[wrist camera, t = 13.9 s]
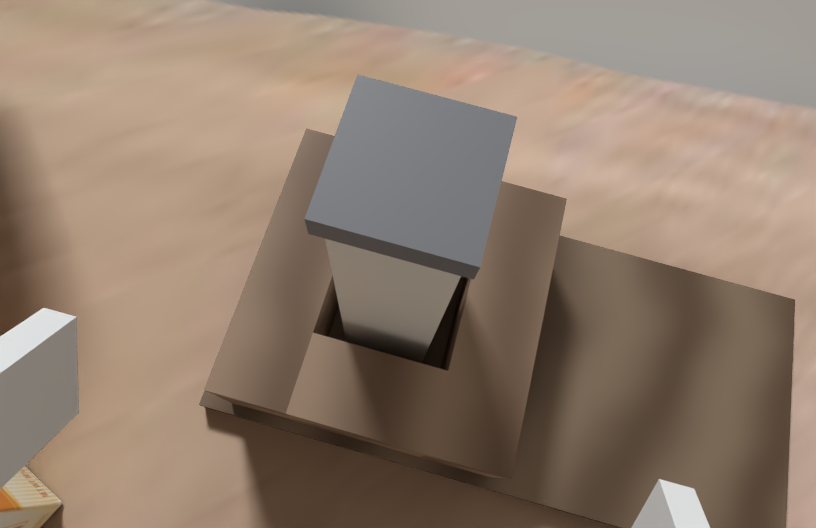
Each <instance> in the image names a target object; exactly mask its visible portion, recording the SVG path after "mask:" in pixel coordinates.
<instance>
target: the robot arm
mask: <svg viewBox="0 0 816 528" xmlns="http://www.w3.org/2000/svg"><path fill="white" fill-rule="evenodd" d="M78 413H79V396H78V356H77V317H76V316H72V315H68V314H65V313H61V312H58V311H54V310H50V309H47V308H42V309H41V310H39V311H38V312H36V313H35V314H33V315H32V316H30V317H29V318H27V319H26V320H24V321H23V322H21V323H20V324H18V325H17V326H15V327H14V328H12V329H11V330H9V331H8V332H6V333H5V334H3V335H2V336H0V489H1V488H2V487H3V486H4V485H5V484H6V483H7V482H8V481H9V480H10V479H11V478H12V477H13V476H15V475H16V474H17V473H18V472H19V471H20V470H21V469H22V468H23V467H24V466H25V465H26V464H27V463H28V462H29V461H30V460H31V459H32V458H33V457H34V456H35V455H36V454H37V453H38V452H39V451H40V450H41V449H42V448H43V447H44V446H45V445H46V444H47V443H48V442H49V441H50V440H51V439H52V438H53V437H55V436H56V435H57V434H58V433H59V432H60V431H61V430H62V429H63V428H64V427H65V426H66V425H67V424H68V423H69V422H70V421H71V420H72V419H73V418H74V417H75V416H76V415H77V414H78ZM631 528H710V526H709V524H708V521H707V519H706V516H705V514H704V511H703V509H702V507H701V504H700V502H699V499H698V497H697V494H696V492H695V489H693V488H690V487H686V486H683V485H679V484H676V483H672V482H668V481H665V480H661V479H659V480H658V482H657V483H656V485H655V487H654V489H653V490H652V492H651V494H650V496H649V497H648V499H647V501H646V503H645V505H644V506H643V508H642V510H641V512H640V513H639V515H638V517H637V519H636V520H635V522H634V524H633V526H632V527H631Z"/></svg>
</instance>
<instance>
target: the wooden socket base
mask: <svg viewBox="0 0 816 528" xmlns="http://www.w3.org/2000/svg"><path fill="white" fill-rule="evenodd" d="M334 137H335V136H332V135H328V134H325V133H321V132H317V131H313V130H310V129H306V131H305V133H304V136H303V138H302V141H301V144H300V146H299V149H298V151H297V154H296V156H295V159H294V161H293V164H292V167H291V169H290V172H289V174H288V177H287V179H286V182H285V184H284V187H283V190H282V192H281V195H280V197H279V200H278V202H277V205H276V208H275V210H274V213H273V215H272V218H271V220H270V223H269V225H268V228H267V231H266V233H265V236H264V238H263V241H262V243H261V246H260V248H259V251H258V254H257V256H256V259H255V261H254V264H253V266H252V269H251V271H250V274H249V277H248V279H247V282H246V284H245V287H244V289H243V292H242V294H241V297H240V300H239V302H238V305H237V307H236V310H235V312H234V315H233V317H232V320H231V323H230V325H229V328H228V330H227V333H226V335H225V338H224V340H223V343H222V346H221V348H220V351H219V353H218V356H217V358H216V361H215V363H214V366H213V369H212V371H211V374H210V376H209V379H208V381H207V384H206V386H205V389H204V390H205V391H204V394H203V396H202V399H201V401H200V404H199V405H201V406H203V407H207V408H210V409H213V410H217V411H220V412H224V413H227V414H231V415H234V416H238V417H241V418H244V419H248V420H251V421H255V422H258V423H262V424H265V425H269V426H272V427H275V428H279V429H282V430H286V431H289V432H293V433H296V434H300V435H303V436H306V437H310V438H313V439H317V440H320V441H324V442H327V443H331V444H334V445H337V446H341V447H344V448H348V449H351V450H355V451H358V452H362V453H365V454H368V455H372V456H375V457H379V458H382V459H386V460H389V461H393V462H396V463H399V464H403V465H406V466H410V467H413V468H417V469H420V470H424V471H427V472H430V473H434V474H437V475H441V476H444V477H448V478H451V479H455V480H458V481H461V482H465V483H468V484H472V485H475V486H479V487H482V488H486V489H489V490H492V491H496V492H499V493H503V494H506V495H510V496H513V497H517V498H520V499H523V500H527V501H530V502H534V503H537V504H541V505H544V506H548V507H551V508H554V509H558V510H561V511H565V512H568V513H572V514H575V515H579V516H582V517H585V518H589V519H592V520H596V521H599V522H603V523H606V524H610V525H613V526H616V527H620V528H631V527H632V526H633V524H634V522H635V520H636V519H637V517H638V515H639V513H640V512H641V510H642V508H643V506H644V505H645V503H646V501H647V499H648V497H649V496H650V494H651V492H652V490H653V489H654V487H655V485H656V483H657V482H658V480H659V479H661V480H665V481H668V482H672V483H676V484H679V485H683V486H686V487H690V488H693V489H695V492H696V494H697V497H698V499H699V502H700V504H701V507H702V509H703V511H704V514H705V516H706V519H707V521H708V524H709V526H710V528H786V511H787V487H788V462H789V437H790V412H791V387H792V363H793V338H794V313H795V300H794V299H790V298H787V297H783V296H779V295H775V294H772V293H768V292H764V291H761V290H757V289H753V288H750V287H746V286H742V285H739V284H735V283H731V282H728V281H724V280H720V279H717V278H713V277H709V276H706V275H702V274H698V273H695V272H691V271H687V270H684V269H680V268H676V267H673V266H669V265H665V264H662V263H658V262H654V261H651V260H647V259H643V258H640V257H636V256H632V255H629V254H625V253H621V252H618V251H614V250H610V249H607V248H603V247H599V246H596V245H592V244H588V243H585V242H581V241H577V240H574V239H570V238H566V237H563V236H559V235H560V230H561V225H562V220H563V215H564V210H565V205H566V200H567V199H565V198H562V197H558V196H554V195H551V194H547V193H543V192H539V191H536V190H532V189H528V188H525V187H521V186H517V185H514V184H510V183H506V182H502V181H501V185H500V189H499V193H498V197H497V201H496V205H495V209H494V214H493V218H492V222H491V226H490V230H489V234H488V238H487V242H486V246H485V251H484V255H483V259H482V263H481V267H480V269H479V271H478V273H477V275H476V277H475V279H474V280H473V279H469V278H466V277H462V276H461V278H460V280H459V282H458V284H457V286H456V289H455V291H454V293H453V295H452V297H451V300H450V302H449V304H448V306H447V308H446V311H445V313H444V315H443V317H442V319H441V322H440V324H439V326H438V328H437V330H436V333H435V335H434V337H433V339H432V341H431V344H430V346H429V348H428V350H427V352H426V354H425V357H424V359H423V361H422V363H419V362H415V361H411V360H408V359H404V358H401V357H397V356H394V355H390V354H387V353H383V352H380V351H376V350H373V349H369V348H366V347H362V346H359V345H355V344H351V343H348V342H346V338H345V333H344V328H343V323H342V318H341V314H340V309H339V304H338V299H337V294H336V289H335V285H334V280H333V275H332V270H331V265H330V260H329V256H328V251H327V246H326V241H325V238H321V237H317V236H314V235H310V234H308V231H307V227H306V223H305V220H304V218H305V216H306V213H307V210H308V208H309V205H310V202H311V199H312V197H313V194H314V191H315V189H316V186H317V183H318V180H319V178H320V175H321V172H322V170H323V167H324V164H325V161H326V159H327V156H328V153H329V151H330V148H331V145H332V142H333V140H334Z"/></svg>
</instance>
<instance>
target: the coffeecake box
mask: <svg viewBox="0 0 816 528" xmlns="http://www.w3.org/2000/svg"><path fill="white" fill-rule="evenodd" d="M60 506H61V500H60V499H59V498H57V497H56V496H55V495H54V494H53V493H52V492H51V491H50V490H49V489H48V488H47V487H46V486H45V485H44V484H43V483H42V482H41V481H40V480H39V479H38V478H37V477H36V476H35V475H34V474H33V473H32V472H31V471H30V470H28V469H27V468H26V467H25V466H24V467H23V468H22V469H21V470H20V471H19V472H18V473H17V474H16V475H15V476H13V477H12V478H11V479H10V480H9V481H8V482H7V483H6V484H5V485H4V486H3V487H2V488H1V489H0V528H40V527H41V526H42V525H43V524H44V523H45V522H46V521H47V520H48V519H49V518H50V517H51V515H52V514H53V513H54V512H55V511H56V510H57V509H58V508H59V507H60Z"/></svg>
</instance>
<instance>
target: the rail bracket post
mask: <svg viewBox="0 0 816 528" xmlns="http://www.w3.org/2000/svg"><path fill="white" fill-rule="evenodd" d="M516 119H517V117H516V116H512V115H508V114H504V113H501V112H497V111H493V110H489V109H486V108H482V107H478V106H474V105H470V104H467V103H463V102H459V101H455V100H452V99H448V98H444V97H440V96H437V95H433V94H429V93H425V92H421V91H418V90H414V89H410V88H406V87H403V86H399V85H395V84H391V83H388V82H384V81H380V80H376V79H372V78H369V77H365V76H361V75H357V77H356V80H355V83H354V85H353V88H352V91H351V94H350V96H349V99H348V102H347V104H346V107H345V110H344V113H343V115H342V118H341V121H340V123H339V126H338V129H337V132H336V134H335V137H334V140H333V142H332V145H331V148H330V151H329V153H328V156H327V159H326V161H325V164H324V167H323V170H322V172H321V175H320V178H319V180H318V183H317V186H316V189H315V191H314V194H313V197H312V199H311V202H310V205H309V208H308V210H307V213H306V216H305V218H304V220H305V223H306V227H307V231H308V234H310V235H314V236H317V237H321V238H325V241H326V246H327V251H328V256H329V260H330V265H331V270H332V275H333V280H334V285H335V289H336V294H337V299H338V304H339V309H340V314H341V318H342V323H343V328H344V333H345V338H346V342H348V343H351V344H355V345H359V346H362V347H366V348H369V349H373V350H376V351H380V352H383V353H387V354H390V355H394V356H397V357H401V358H404V359H408V360H411V361H415V362H419V363H422V361H423V359H424V357H425V354H426V352H427V350H428V348H429V346H430V344H431V341H432V339H433V337H434V335H435V333H436V330H437V328H438V326H439V324H440V322H441V319H442V317H443V315H444V313H445V311H446V308H447V306H448V304H449V302H450V300H451V297H452V295H453V293H454V291H455V289H456V286H457V284H458V282H459V280H460V278H461V276H462V277H466V278H469V279H473V280H474V279H475V277H476V275H477V273H478V271H479V269H480V267H481V263H482V259H483V255H484V251H485V246H486V242H487V238H488V234H489V230H490V226H491V222H492V218H493V214H494V209H495V205H496V201H497V197H498V193H499V189H500V185H501V181H502V177H503V173H504V168H505V164H506V160H507V156H508V152H509V148H510V144H511V140H512V136H513V131H514V127H515V123H516Z"/></svg>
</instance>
